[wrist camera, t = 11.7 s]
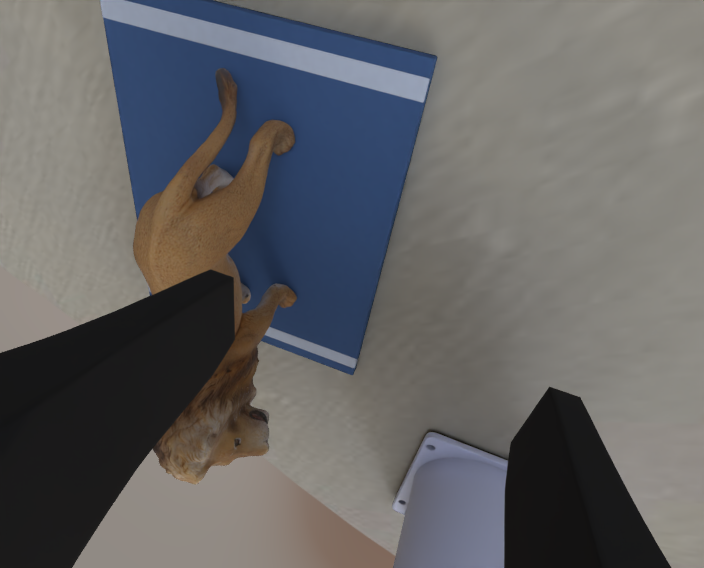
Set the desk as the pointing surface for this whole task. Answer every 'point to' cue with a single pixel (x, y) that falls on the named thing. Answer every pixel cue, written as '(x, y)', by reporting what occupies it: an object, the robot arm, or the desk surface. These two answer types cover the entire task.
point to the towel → (291, 167)
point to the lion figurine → (212, 253)
